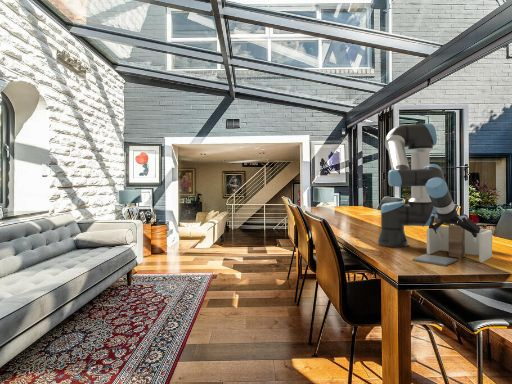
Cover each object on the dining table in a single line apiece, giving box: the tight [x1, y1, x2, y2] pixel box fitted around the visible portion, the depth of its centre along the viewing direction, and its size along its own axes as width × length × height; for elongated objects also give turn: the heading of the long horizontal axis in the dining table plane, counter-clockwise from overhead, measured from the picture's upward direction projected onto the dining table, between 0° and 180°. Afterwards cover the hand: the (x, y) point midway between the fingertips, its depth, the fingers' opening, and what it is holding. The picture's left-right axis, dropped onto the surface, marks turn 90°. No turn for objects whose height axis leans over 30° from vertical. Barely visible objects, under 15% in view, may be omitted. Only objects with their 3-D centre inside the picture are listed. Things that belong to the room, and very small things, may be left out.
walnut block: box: [448, 224, 466, 259], centre depth 147 cm, size 5×5×14 cm
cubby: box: [426, 225, 493, 263], centre depth 148 cm, size 14×22×12 cm, turn 40°
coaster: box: [411, 253, 457, 267], centre depth 140 cm, size 13×13×1 cm
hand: (457, 238), depth 147 cm, fingers open, 13 cm apart
